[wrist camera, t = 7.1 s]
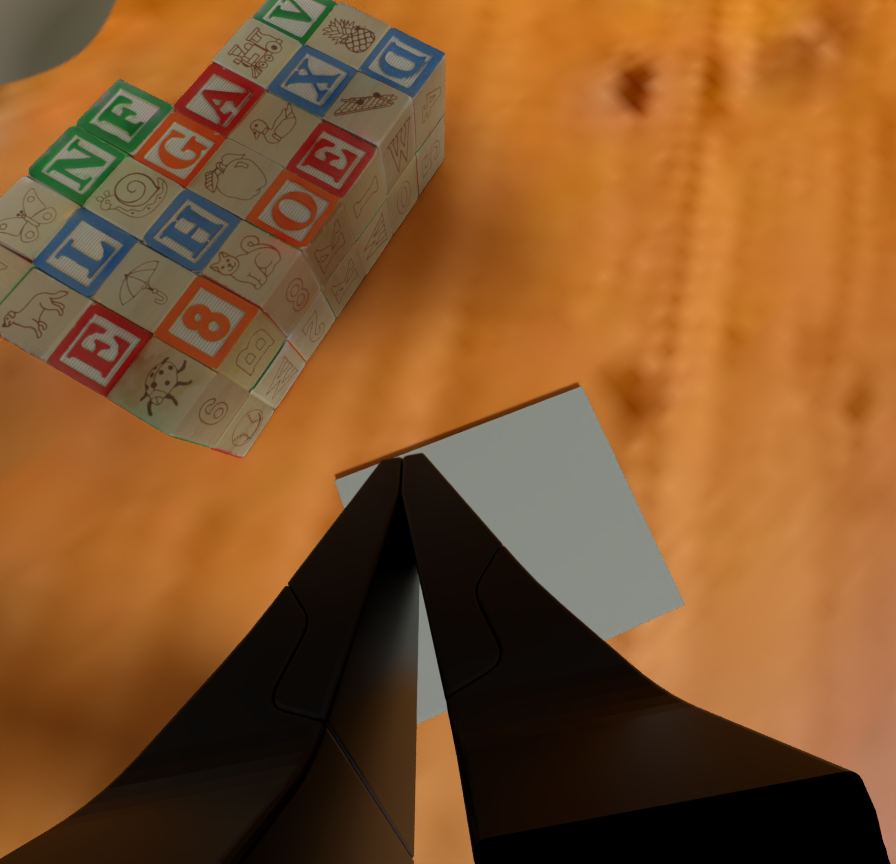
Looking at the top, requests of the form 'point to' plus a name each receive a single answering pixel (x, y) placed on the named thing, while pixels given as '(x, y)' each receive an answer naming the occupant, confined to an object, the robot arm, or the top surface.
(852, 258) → the top surface
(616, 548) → the grey rubber mat
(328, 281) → the stack of blocks
